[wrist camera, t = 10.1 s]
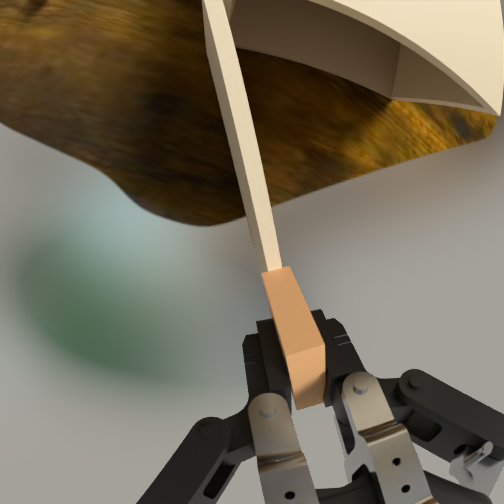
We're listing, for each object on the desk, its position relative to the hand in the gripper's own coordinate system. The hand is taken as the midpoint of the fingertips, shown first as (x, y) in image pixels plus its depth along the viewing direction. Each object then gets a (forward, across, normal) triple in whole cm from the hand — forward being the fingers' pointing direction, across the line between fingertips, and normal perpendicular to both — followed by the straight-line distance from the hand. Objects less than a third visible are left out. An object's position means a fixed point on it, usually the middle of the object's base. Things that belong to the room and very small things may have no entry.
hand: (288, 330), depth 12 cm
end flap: (+13, +1, -6) cm, 14 cm away
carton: (+13, -9, -21) cm, 26 cm away
